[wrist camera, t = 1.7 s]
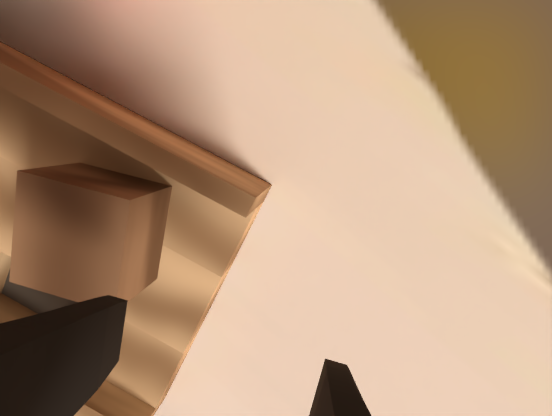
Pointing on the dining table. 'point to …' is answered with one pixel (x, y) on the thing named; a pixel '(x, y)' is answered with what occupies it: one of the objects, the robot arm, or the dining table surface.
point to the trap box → (178, 233)
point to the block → (87, 231)
